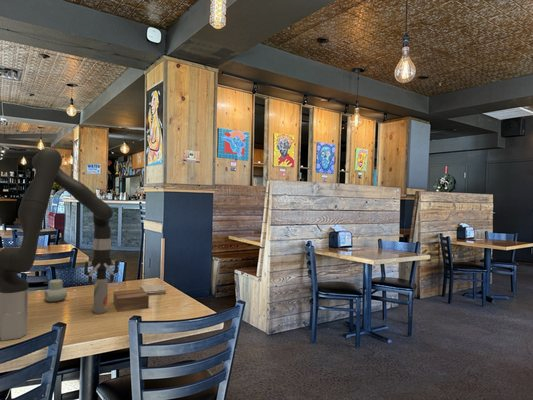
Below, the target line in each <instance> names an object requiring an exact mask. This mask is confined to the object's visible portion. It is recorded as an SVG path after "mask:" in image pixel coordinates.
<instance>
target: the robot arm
mask: <svg viewBox="0 0 533 400" xmlns="http://www.w3.org/2000/svg"><path fill="white" fill-rule="evenodd" d="M62 157H63V156H62V155H61V154H60V152H59V151H58V149H55V148H52V147H48V148H44V149H42V150H40V151H39V152H38V153H36V154H35V155H34V156H33V157H32V159H31V165H32V167H33V168H34V169H35V174H34V176H33V179H32V180H31V182H30V184H29V185H28V187H27V188H26V190H25V193H24V194H23V196H22V198H21V201H20V205H19V207H18V210H17V216H18V217H17V218H18V222H19V223H20V227H21V229H22V241H21V245H20V247H11V246H8V247H4V248H2V249H0V341H2V342H3V341H9V340H17V339H21V338H22V337H24V336H25V337H26V335H27V334H28V311H29V310H28V308H29V306H28V305H29V282H28V281H27V280H26V279H24V278H22V277H21V276H20V275H19V274H18V273H22V274H23V273H28V272H29V271H30V270H31V269H32V268H33V266H34V264H35V260H36V254H37V250H38V244H39V239H40V233H41V232H42V231H41V230H42V228H43V227H42V226H43V222H44V219H45V218H46V213H47V210H48V206H49V203H50V199H51V196H52V191H53V187H54V184H56V185H57V186H60V187H61V188H62V189H63V190H65V192H67V193H69V194H70V195H71V196H72V197H73V198H74V199H75V200H76V201H77V202H78V203H79V204H81V205H82V206H83V207H85V208H86V209H88V210H90V212H91V213H92V219H93V227H94V231H93V243H92V259H91V261H88V260H85V261H84V270H83V274H84V275H85V276H88V278H87V281H88V284H89V285H92V284H93V275H94V273H95V272H97V270H98V271H99V270H106V271H108V272H109V273H110V274H109V283H110V284H112V283H113V282H114V281H115V279H114V276H115V274H118V273H119V261H118V260H117V259H113V260H111V257H112V255H111V253H112V242H111V241H112V240H111V234H112V233H111V232H112V230H111V226H110V220H111V218H112V217H113V215H114V212H113V208H112V207H111V206H110V205H109V204H107V202H105V201H104V200H102V199H101V198H100V197H98V195H96V194H95V193H94V192H93V191H92V190H91V189H90V188H89V187H88V186H87V185H85V184H84V183H82V182H81V181H78V180H77V179H75V178H74V177H72V176H70V175H69V174H67V172H65V171H63V169H61V165H62V163H63V158H62ZM91 265H92V268H91V270H88V269H89V267H90V266H91ZM111 265H113V266H114V270H112V268H111V267H110V266H111Z"/></svg>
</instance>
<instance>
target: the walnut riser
mask: <svg viewBox="0 0 533 400" xmlns="http://www.w3.org/2000/svg"><path fill="white" fill-rule="evenodd" d="M149 298H150V295H148V294H147V293H146V292H145V291H144V290H143V289H140V288H138V289H128V290H119V291H113V306H114V309H115V310H116V313H118V312H127V311H129V312H130V311H137V310H145V309H149V303H150V302H149V301H150V299H149Z"/></svg>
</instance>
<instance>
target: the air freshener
mask: <svg viewBox="0 0 533 400" xmlns="http://www.w3.org/2000/svg"><path fill="white" fill-rule="evenodd" d="M63 284H64V282H63V280H62V279H60V278H58V279H51V280H50V281H48V289H46V290H45V291H44V294H43V296H44V300H45V301H47V302H50V303H53V302H54V303H55V302H61V301H63V300H65V299H66V298H67V297H68V295H67V294H68V292H67V290H66V288H65V287H63Z"/></svg>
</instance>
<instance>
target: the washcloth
mask: <svg viewBox="0 0 533 400" xmlns="http://www.w3.org/2000/svg"><path fill="white" fill-rule="evenodd" d="M139 289H143V290H144V291H145V292H146V293H147V294H148V296H157V295H158V296H159V295H166V293H167V292H166V291H167V289H166V286H164V285H162V283H153V284H143V285H140V287H139Z"/></svg>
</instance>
